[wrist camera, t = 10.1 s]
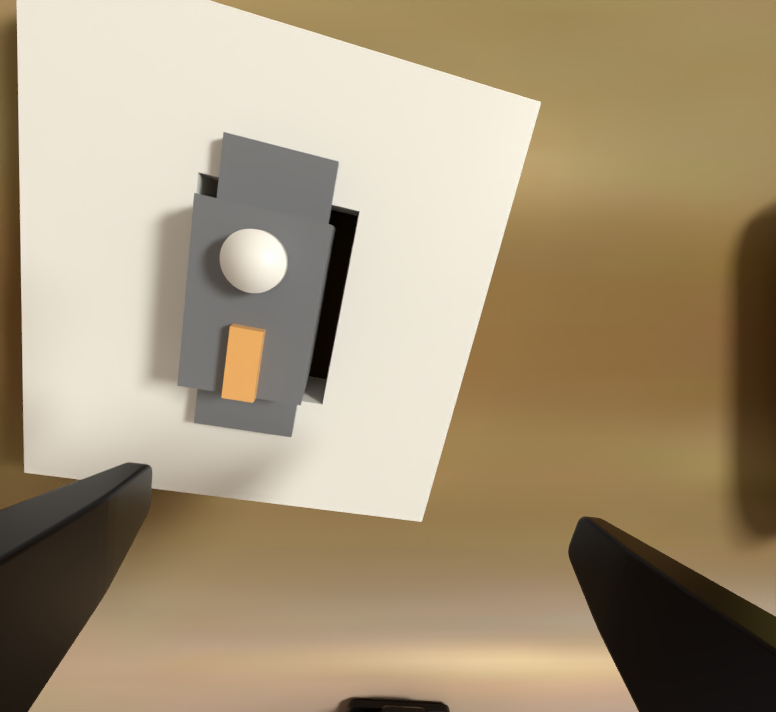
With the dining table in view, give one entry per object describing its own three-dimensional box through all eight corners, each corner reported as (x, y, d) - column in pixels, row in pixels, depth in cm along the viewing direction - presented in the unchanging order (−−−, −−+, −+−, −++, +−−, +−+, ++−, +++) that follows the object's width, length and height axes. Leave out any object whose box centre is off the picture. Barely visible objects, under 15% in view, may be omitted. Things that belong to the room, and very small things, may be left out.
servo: (305, 402, 19) (288, 469, 13) (217, 387, 18) (162, 452, 13) (345, 178, 16) (344, 148, 11) (245, 153, 16) (189, 107, 10)
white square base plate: (411, 482, 21) (421, 521, 18) (74, 436, 18) (24, 472, 15) (507, 126, 16) (541, 102, 14) (83, 2, 14) (15, -59, 11)
